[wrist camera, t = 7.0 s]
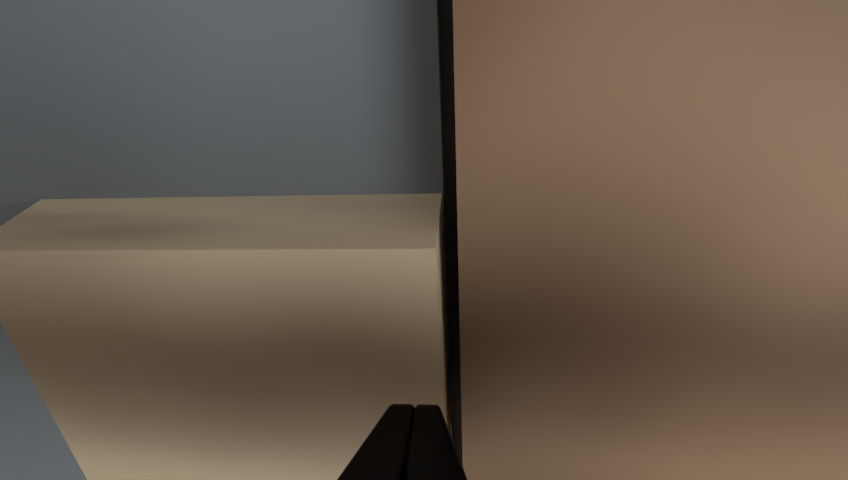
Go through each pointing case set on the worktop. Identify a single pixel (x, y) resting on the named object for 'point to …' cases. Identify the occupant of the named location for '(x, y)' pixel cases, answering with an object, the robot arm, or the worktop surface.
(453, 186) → the worktop surface
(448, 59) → the worktop surface
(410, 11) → the slate mat
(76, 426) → the birch tile
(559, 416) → the walnut board
